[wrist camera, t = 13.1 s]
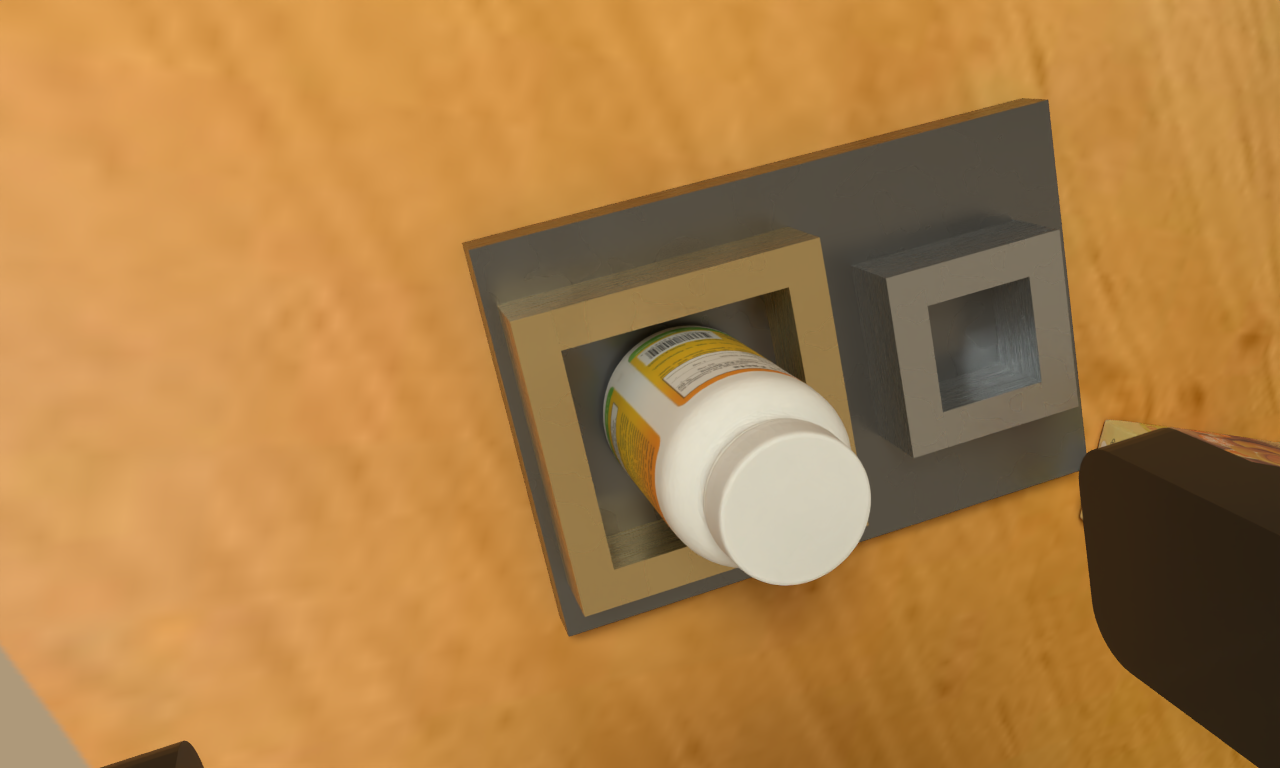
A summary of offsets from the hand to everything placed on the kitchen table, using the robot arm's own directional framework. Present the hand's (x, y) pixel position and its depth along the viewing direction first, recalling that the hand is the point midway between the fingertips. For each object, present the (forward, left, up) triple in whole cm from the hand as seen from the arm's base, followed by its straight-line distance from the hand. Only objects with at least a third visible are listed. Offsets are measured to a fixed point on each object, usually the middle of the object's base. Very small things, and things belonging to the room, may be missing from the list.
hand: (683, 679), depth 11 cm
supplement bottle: (-7, +7, -27) cm, 28 cm away
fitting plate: (-11, +7, -28) cm, 31 cm away
